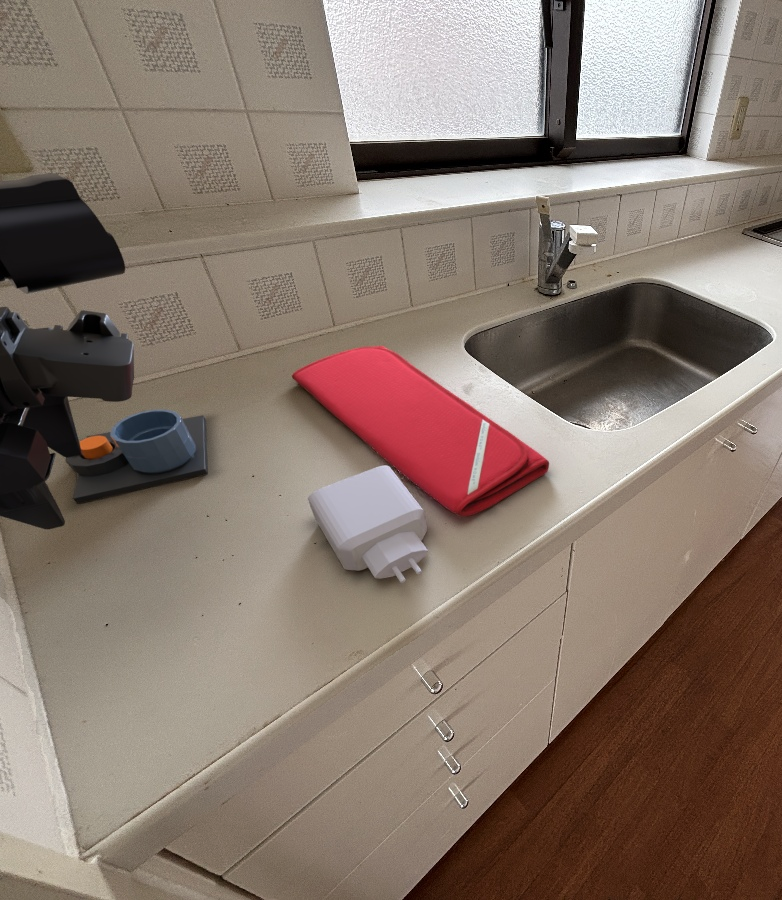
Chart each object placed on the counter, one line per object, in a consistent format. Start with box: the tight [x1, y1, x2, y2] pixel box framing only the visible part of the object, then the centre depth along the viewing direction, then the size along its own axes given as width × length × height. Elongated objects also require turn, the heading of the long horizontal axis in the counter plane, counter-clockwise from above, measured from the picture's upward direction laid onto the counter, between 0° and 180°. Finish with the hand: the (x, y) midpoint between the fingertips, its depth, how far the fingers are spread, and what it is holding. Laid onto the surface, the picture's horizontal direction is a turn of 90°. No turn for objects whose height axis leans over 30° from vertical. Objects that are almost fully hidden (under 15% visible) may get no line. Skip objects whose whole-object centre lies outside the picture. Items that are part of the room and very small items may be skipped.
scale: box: [64, 414, 209, 505], centre depth 61 cm, size 12×12×2 cm
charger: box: [307, 465, 429, 584], centre depth 54 cm, size 5×9×15 cm
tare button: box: [79, 435, 113, 459], centre depth 58 cm, size 3×3×2 cm
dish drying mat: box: [291, 345, 550, 517], centre depth 71 cm, size 16×41×4 cm, turn 49°
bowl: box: [110, 409, 196, 473], centre depth 59 cm, size 6×6×5 cm
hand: (65, 488), depth 41 cm, fingers open, 9 cm apart
